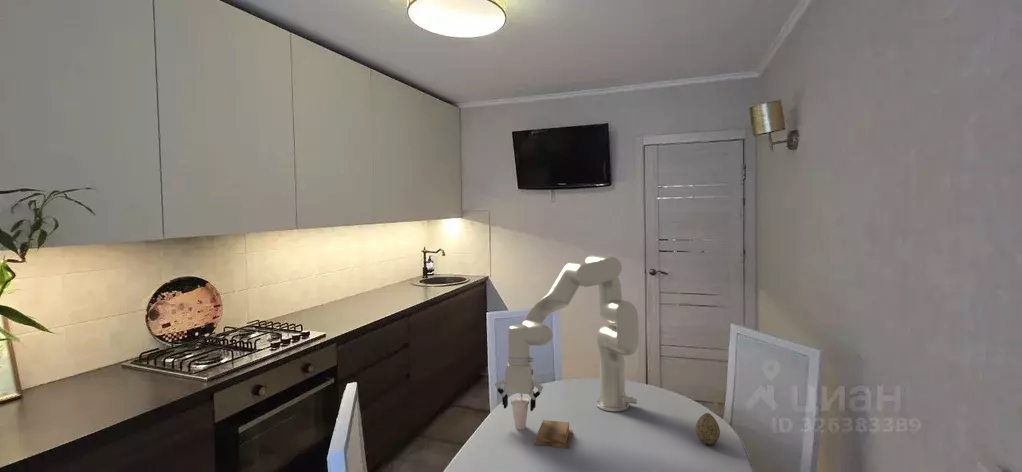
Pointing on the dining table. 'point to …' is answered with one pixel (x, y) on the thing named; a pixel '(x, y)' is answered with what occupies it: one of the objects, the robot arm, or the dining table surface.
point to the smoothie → (520, 411)
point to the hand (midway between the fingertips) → (518, 408)
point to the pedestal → (554, 434)
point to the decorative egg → (707, 429)
